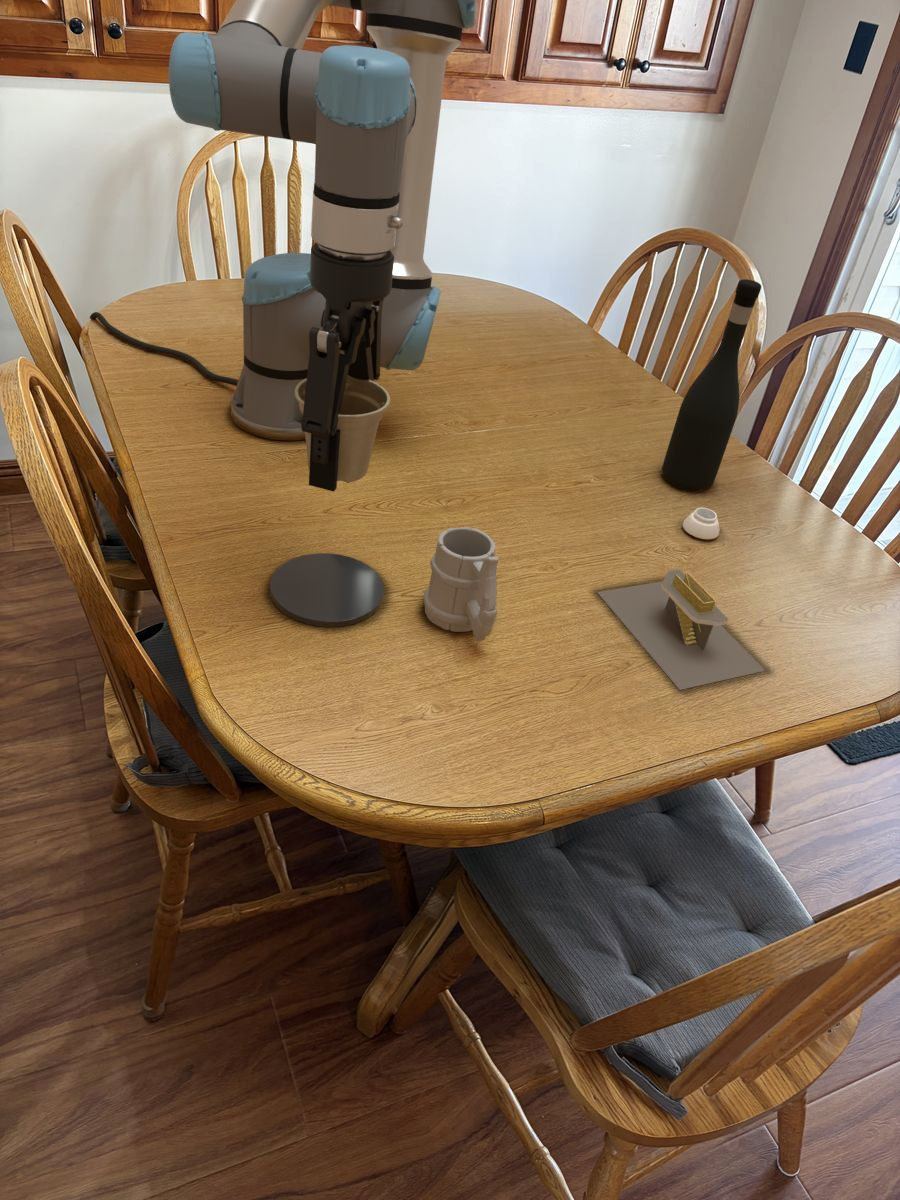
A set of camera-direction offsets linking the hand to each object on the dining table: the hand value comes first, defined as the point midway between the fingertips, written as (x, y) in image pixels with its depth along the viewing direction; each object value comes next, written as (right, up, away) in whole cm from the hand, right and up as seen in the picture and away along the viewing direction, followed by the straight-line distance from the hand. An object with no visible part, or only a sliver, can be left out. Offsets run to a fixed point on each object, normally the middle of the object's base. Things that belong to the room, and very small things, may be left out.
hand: (338, 467), depth 98 cm
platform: (+39, -18, +13) cm, 44 cm away
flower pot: (0, 0, 0) cm, 0 cm away
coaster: (-2, -13, +10) cm, 17 cm away
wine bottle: (+47, +4, +43) cm, 64 cm away
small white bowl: (+46, -5, +32) cm, 56 cm away
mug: (+13, -17, +9) cm, 23 cm away
